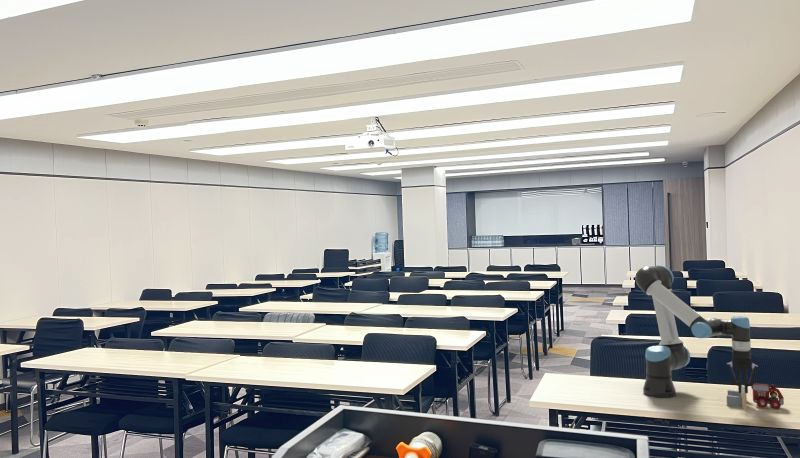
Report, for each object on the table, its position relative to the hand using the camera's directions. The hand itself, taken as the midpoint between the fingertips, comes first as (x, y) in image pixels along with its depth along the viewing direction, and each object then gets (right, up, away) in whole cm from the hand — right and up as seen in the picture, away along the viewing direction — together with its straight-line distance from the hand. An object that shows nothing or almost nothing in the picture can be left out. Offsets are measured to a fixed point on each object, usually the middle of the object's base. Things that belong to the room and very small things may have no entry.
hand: (743, 399), depth 266 cm
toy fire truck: (+8, -2, -5) cm, 10 cm away
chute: (-3, -2, +2) cm, 4 cm away
